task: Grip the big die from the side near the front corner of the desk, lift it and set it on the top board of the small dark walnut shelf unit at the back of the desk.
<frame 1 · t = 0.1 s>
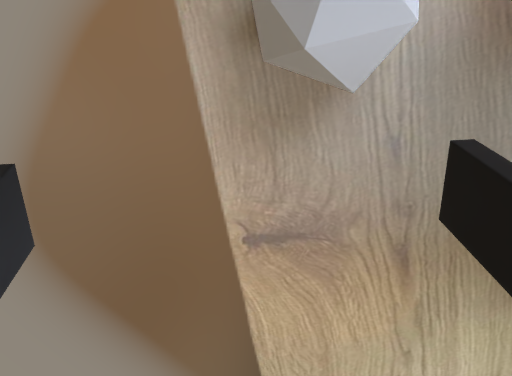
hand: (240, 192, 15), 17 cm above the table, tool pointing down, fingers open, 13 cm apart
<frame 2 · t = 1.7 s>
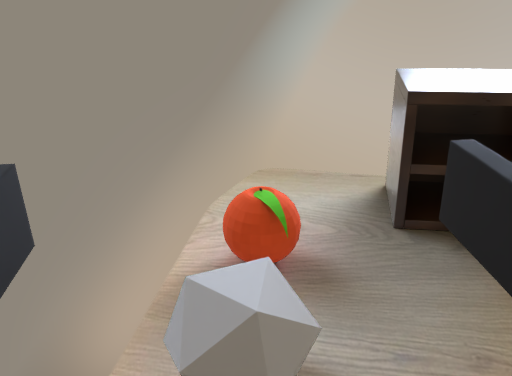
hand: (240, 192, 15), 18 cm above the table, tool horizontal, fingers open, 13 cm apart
shelf: (464, 208, 53), on the table
clementine: (265, 263, 44), on the table
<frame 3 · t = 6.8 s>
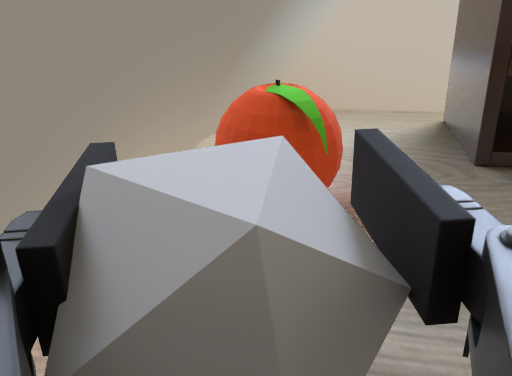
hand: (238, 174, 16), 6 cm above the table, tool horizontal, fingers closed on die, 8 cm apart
clementine: (283, 211, 27), on the table
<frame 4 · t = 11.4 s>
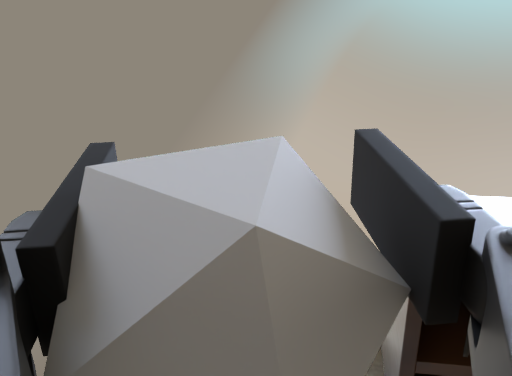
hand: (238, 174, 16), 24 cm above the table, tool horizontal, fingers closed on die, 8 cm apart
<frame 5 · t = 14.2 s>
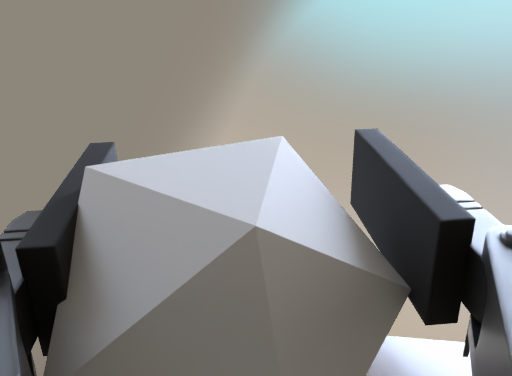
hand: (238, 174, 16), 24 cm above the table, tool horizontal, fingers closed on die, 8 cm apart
when the fingers open (20 cm above the table, at t = 16.2 s): die stays where it is, resting on shelf.
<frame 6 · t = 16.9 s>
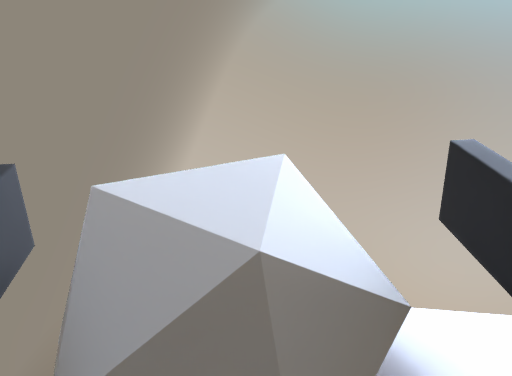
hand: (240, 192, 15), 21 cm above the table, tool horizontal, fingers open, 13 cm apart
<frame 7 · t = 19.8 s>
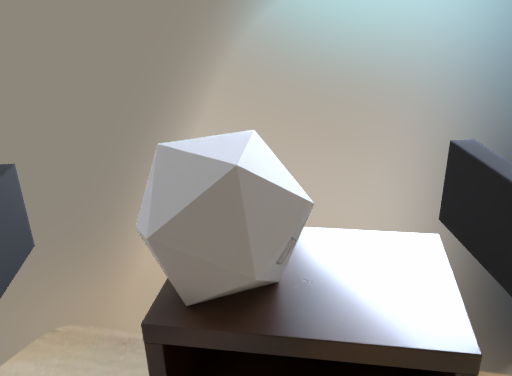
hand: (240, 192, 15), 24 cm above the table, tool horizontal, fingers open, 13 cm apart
die: (225, 281, 27), point 14 cm above the table, touching shelf
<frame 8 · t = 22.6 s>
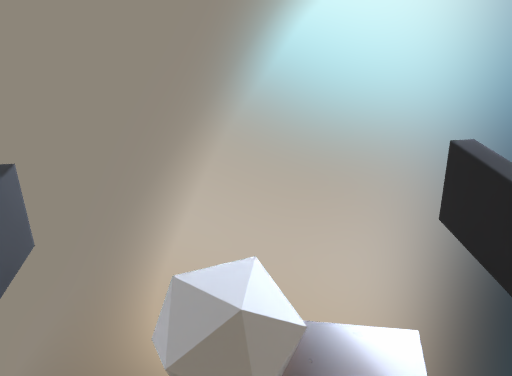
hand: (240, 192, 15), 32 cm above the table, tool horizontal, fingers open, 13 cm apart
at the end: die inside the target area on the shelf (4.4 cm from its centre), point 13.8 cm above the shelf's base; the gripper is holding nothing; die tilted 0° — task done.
